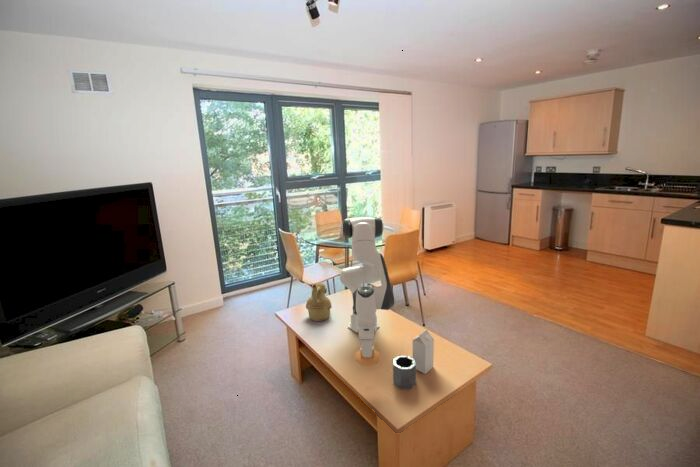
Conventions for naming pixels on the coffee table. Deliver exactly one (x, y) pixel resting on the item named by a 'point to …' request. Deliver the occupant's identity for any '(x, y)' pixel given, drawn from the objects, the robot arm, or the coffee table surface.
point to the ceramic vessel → (318, 303)
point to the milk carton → (423, 351)
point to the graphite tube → (404, 372)
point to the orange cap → (367, 358)
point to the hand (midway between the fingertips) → (367, 353)
